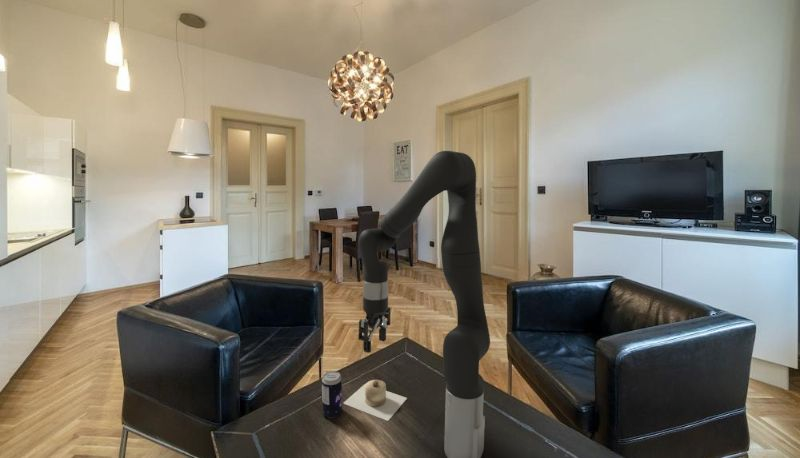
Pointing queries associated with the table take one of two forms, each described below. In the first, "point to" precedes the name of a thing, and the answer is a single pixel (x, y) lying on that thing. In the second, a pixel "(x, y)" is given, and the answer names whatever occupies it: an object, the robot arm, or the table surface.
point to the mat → (382, 412)
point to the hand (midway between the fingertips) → (375, 345)
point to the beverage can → (332, 394)
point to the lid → (375, 393)
